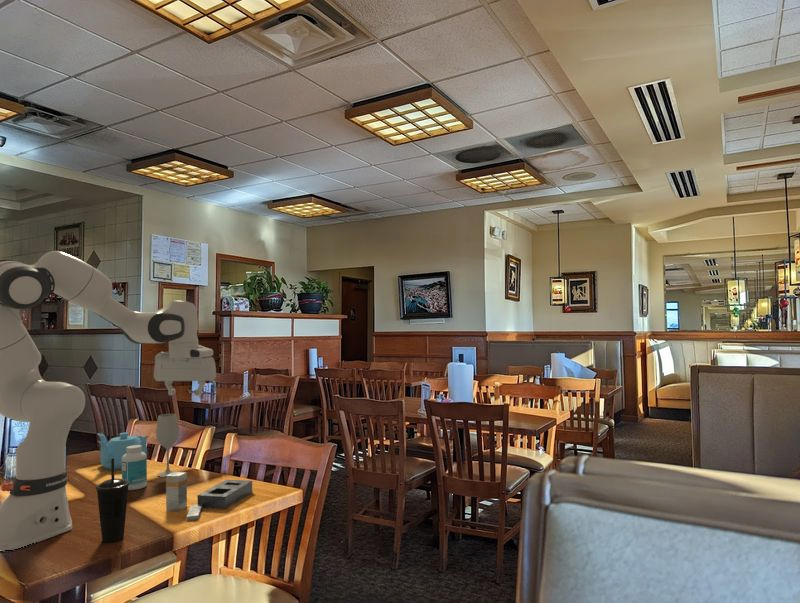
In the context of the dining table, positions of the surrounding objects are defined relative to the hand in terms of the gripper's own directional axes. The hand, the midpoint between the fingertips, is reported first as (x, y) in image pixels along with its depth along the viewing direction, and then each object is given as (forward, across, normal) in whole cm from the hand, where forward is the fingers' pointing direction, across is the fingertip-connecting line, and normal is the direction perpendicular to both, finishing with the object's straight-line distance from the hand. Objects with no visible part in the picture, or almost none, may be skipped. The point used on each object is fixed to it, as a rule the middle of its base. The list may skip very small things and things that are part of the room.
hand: (185, 395), depth 176 cm
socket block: (+31, +15, -4) cm, 35 cm away
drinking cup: (+30, +3, -37) cm, 48 cm away
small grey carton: (+31, +5, -14) cm, 34 cm away
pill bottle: (+31, -22, +2) cm, 38 cm away
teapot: (+32, -46, +27) cm, 62 cm away
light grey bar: (+31, +13, -17) cm, 38 cm away
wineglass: (+32, -20, +18) cm, 42 cm away
